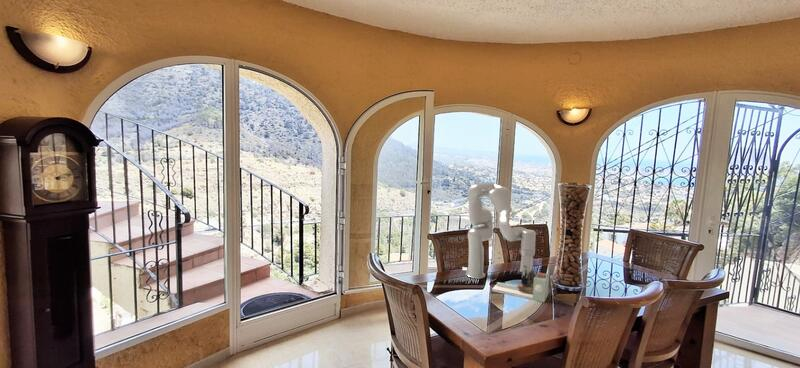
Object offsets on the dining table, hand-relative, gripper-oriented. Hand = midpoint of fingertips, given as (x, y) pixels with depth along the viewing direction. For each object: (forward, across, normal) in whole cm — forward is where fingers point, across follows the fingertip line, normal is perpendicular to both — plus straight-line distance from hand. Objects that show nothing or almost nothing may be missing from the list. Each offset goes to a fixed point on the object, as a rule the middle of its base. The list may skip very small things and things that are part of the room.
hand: (526, 281), depth 214 cm
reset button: (-3, 0, +8) cm, 9 cm away
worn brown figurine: (+8, -19, -2) cm, 21 cm away
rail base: (+7, 0, -6) cm, 10 cm away
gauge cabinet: (+7, 0, +8) cm, 11 cm away
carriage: (+5, 0, 0) cm, 5 cm away
